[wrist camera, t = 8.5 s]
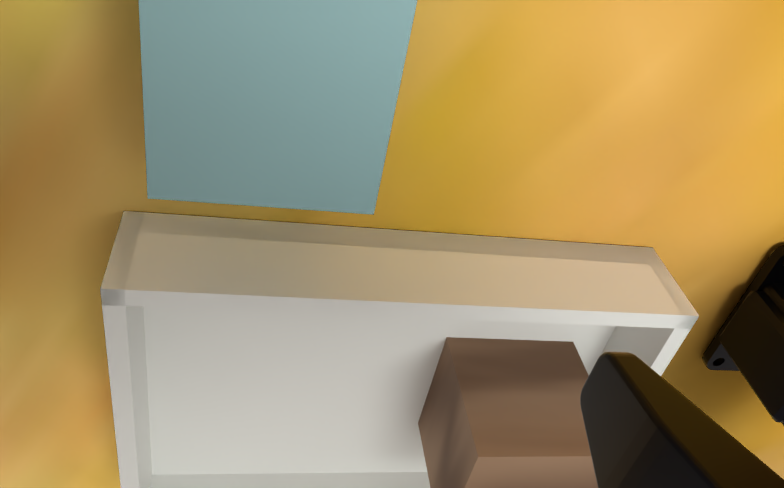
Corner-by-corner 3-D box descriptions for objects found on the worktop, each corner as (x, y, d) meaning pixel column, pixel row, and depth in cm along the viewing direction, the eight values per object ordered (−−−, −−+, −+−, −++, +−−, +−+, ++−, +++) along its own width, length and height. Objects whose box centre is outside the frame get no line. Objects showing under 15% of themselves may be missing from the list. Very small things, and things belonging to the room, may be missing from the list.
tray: (652, 247, 24) (699, 315, 22) (539, 459, 32) (563, 529, 29) (123, 211, 20) (100, 288, 18) (141, 461, 28) (126, 542, 26)
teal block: (384, -70, 17) (417, 0, 13) (354, 113, 20) (373, 214, 16) (171, -105, 15) (136, -40, 12) (174, 94, 18) (147, 198, 15)
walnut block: (446, 337, 24) (478, 457, 21) (573, 341, 25) (625, 456, 22) (417, 423, 27) (440, 541, 24) (532, 423, 28) (572, 536, 25)
